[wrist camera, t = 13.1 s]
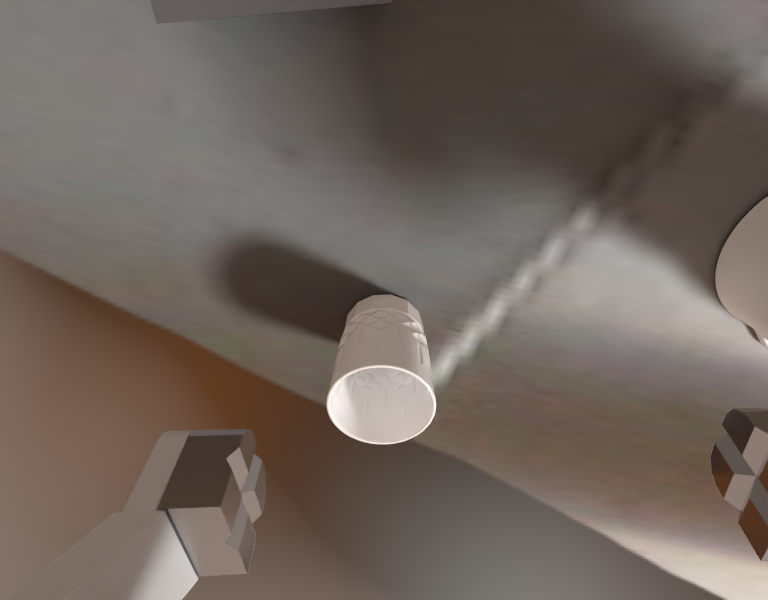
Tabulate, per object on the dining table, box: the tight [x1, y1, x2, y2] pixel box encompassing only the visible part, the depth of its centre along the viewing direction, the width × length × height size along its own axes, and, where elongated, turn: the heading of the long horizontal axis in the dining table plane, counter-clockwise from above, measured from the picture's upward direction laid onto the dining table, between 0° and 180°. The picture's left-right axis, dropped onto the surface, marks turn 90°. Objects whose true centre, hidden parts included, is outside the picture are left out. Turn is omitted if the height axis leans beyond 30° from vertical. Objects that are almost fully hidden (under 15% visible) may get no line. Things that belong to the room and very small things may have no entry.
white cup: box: [327, 294, 436, 444], centre depth 42 cm, size 8×8×10 cm
